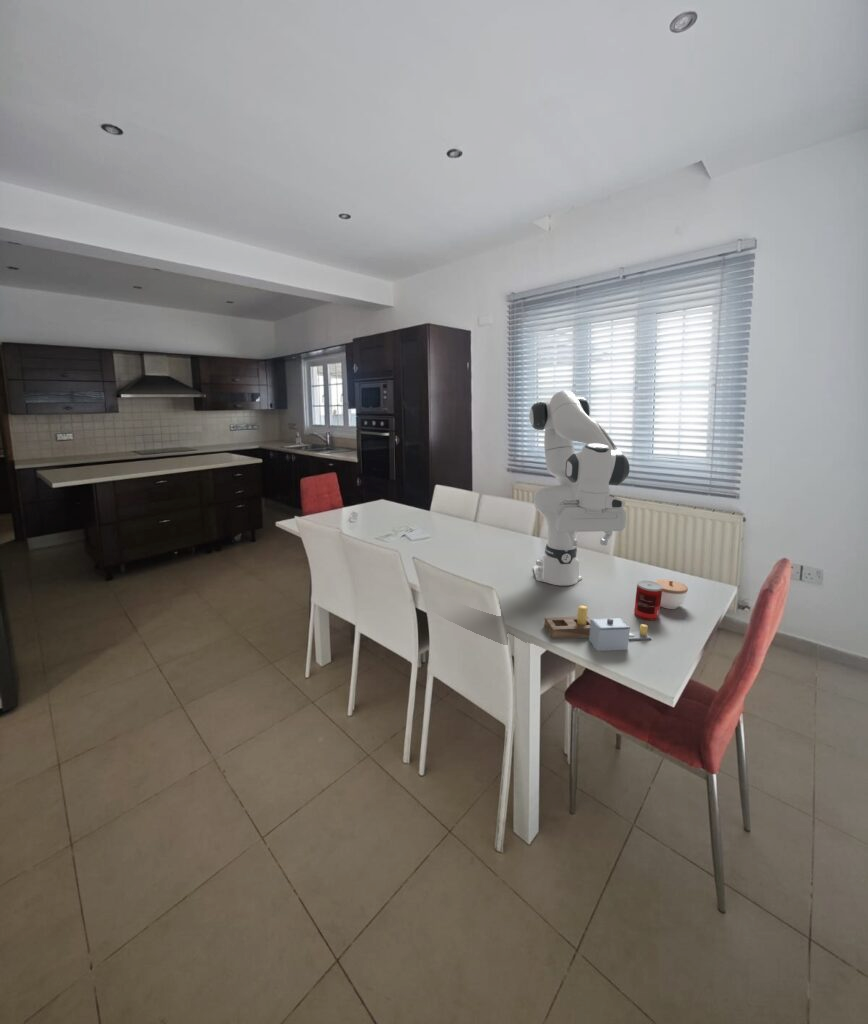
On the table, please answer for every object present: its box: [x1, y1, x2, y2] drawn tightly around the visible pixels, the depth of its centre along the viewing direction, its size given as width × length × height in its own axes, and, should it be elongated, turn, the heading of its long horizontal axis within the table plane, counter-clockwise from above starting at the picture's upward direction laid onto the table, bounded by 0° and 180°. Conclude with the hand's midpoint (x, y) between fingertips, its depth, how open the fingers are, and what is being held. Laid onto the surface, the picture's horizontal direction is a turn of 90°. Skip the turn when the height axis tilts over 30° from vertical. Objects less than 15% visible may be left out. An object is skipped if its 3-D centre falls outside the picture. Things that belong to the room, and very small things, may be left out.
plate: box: [628, 623, 652, 642], centre depth 139 cm, size 4×7×4 cm, turn 95°
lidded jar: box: [654, 579, 689, 610], centre depth 161 cm, size 11×11×9 cm
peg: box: [577, 605, 589, 625], centre depth 142 cm, size 3×3×8 cm
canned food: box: [633, 580, 662, 621], centre depth 153 cm, size 8×8×11 cm
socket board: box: [543, 615, 592, 640], centre depth 143 cm, size 8×14×3 cm, turn 95°
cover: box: [588, 617, 631, 652], centre depth 134 cm, size 6×9×8 cm, turn 95°
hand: (588, 545), depth 137 cm, fingers open, 8 cm apart
